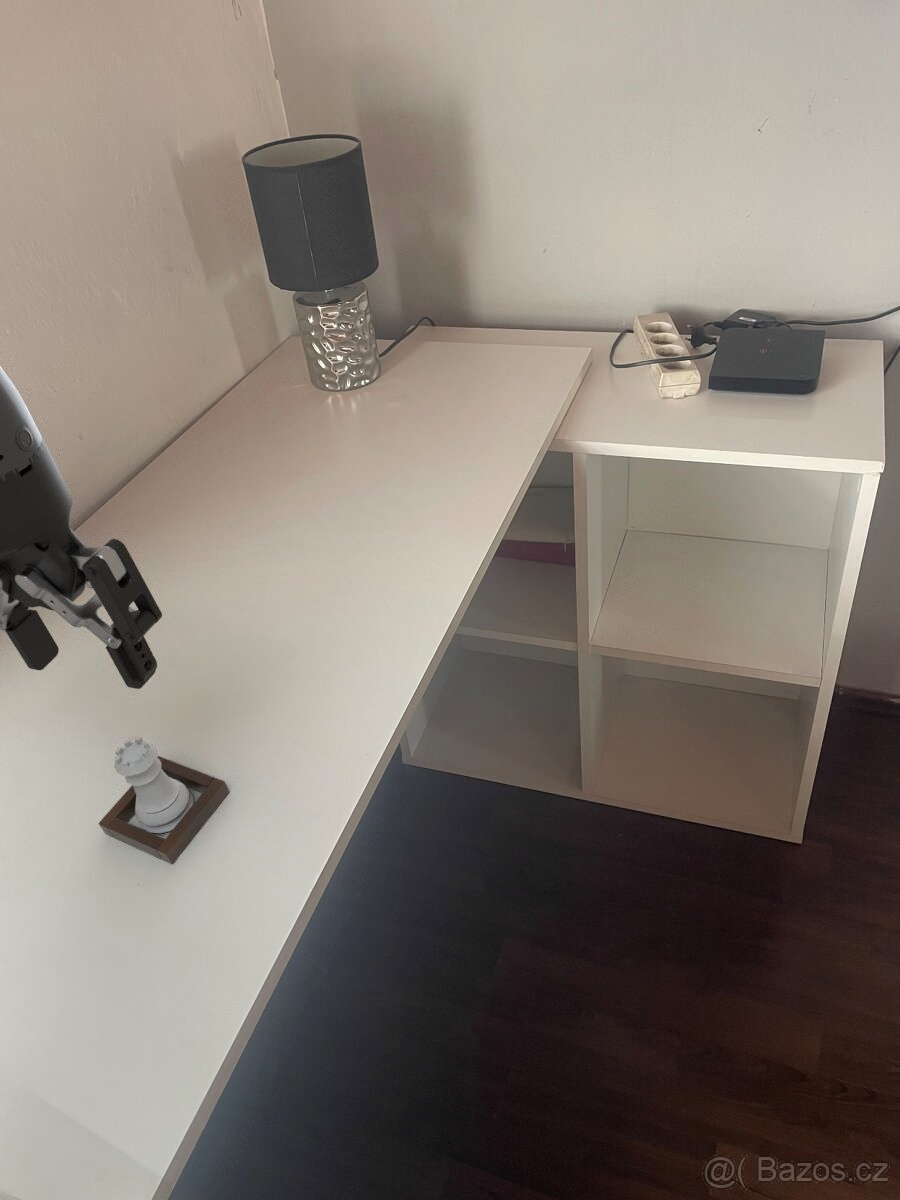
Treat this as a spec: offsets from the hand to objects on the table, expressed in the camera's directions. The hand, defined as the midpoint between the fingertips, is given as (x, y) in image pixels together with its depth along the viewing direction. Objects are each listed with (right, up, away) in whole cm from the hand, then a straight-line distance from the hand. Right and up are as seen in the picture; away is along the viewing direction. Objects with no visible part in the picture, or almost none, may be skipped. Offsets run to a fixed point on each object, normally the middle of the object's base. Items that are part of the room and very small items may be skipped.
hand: (94, 670), depth 57 cm
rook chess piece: (+1, -13, +13) cm, 18 cm away
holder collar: (+1, -13, +13) cm, 18 cm away
